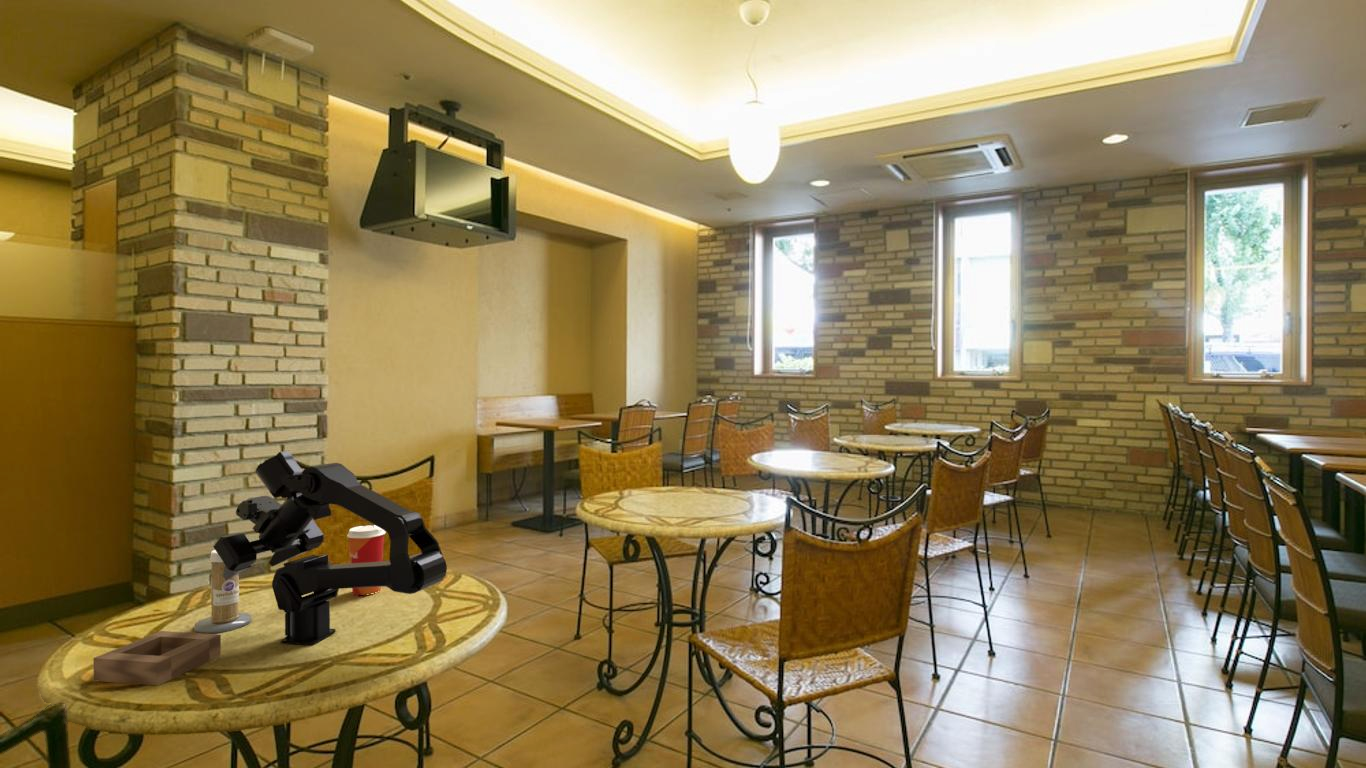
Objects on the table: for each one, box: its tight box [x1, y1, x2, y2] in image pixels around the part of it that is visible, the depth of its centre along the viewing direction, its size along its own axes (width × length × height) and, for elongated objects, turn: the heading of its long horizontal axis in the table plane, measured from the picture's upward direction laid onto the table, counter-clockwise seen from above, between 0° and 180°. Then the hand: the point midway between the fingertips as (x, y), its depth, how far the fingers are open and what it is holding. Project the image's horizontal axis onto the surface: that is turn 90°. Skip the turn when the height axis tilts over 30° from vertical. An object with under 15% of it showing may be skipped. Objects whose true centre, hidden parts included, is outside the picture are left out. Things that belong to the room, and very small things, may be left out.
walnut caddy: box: [92, 630, 222, 687], centre depth 110 cm, size 12×12×4 cm
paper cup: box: [346, 524, 387, 596], centre depth 149 cm, size 8×8×14 cm
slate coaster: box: [193, 611, 252, 634], centre depth 129 cm, size 9×9×1 cm
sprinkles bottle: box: [210, 549, 240, 624], centre depth 129 cm, size 5×5×14 cm
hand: (248, 570), depth 127 cm, fingers open, 9 cm apart
